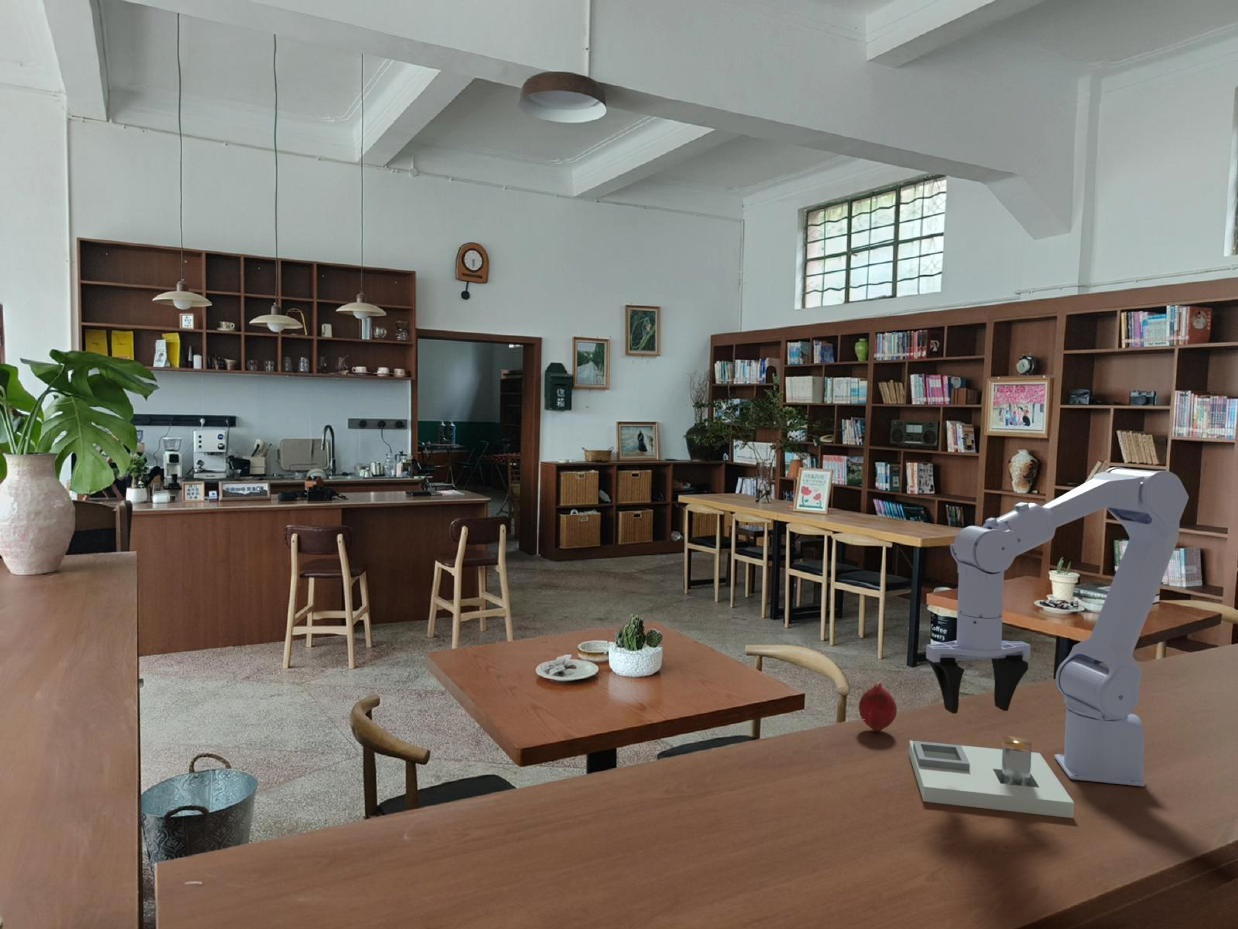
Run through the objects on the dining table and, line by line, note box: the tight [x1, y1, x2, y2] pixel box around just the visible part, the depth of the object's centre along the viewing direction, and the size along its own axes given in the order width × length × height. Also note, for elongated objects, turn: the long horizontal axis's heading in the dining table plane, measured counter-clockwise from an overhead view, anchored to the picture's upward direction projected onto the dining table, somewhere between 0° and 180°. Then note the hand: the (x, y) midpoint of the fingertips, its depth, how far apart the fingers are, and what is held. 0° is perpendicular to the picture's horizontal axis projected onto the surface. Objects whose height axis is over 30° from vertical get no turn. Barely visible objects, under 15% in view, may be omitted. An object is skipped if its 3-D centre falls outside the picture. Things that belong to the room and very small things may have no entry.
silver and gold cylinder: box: [1001, 735, 1033, 787], centre depth 112 cm, size 4×4×7 cm
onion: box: [858, 681, 898, 732], centre depth 133 cm, size 6×6×8 cm
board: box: [908, 740, 1075, 819], centre depth 114 cm, size 18×16×3 cm
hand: (976, 709), depth 115 cm, fingers open, 7 cm apart
